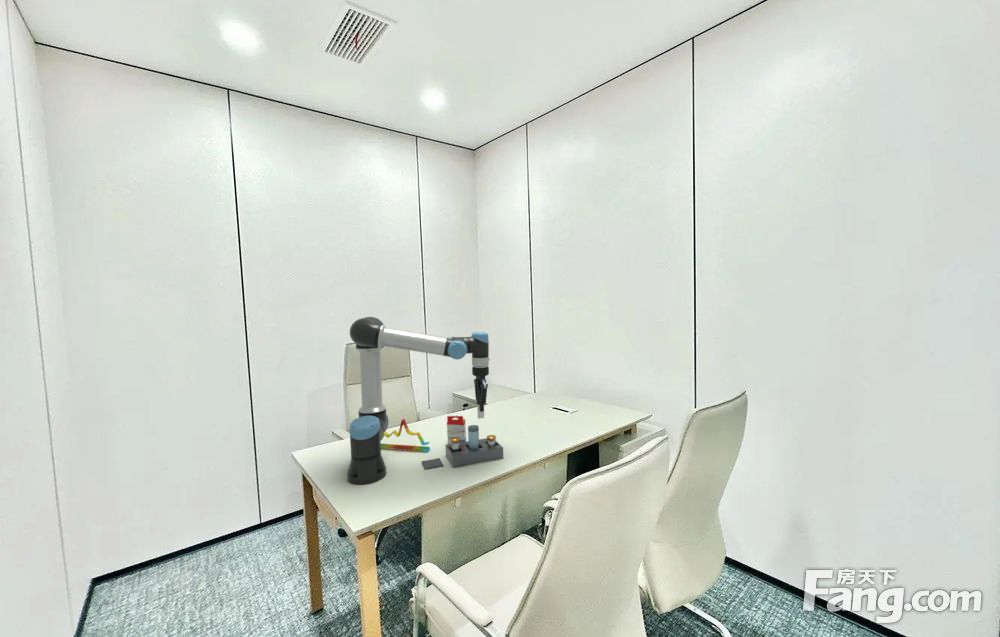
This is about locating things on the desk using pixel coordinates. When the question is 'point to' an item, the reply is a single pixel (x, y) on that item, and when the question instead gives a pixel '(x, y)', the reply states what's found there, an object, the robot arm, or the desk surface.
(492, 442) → the plunger far
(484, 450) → the housing
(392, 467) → the desk surface
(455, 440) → the plunger near
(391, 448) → the chart
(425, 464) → the pad
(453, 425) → the ink box
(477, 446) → the cylinder
